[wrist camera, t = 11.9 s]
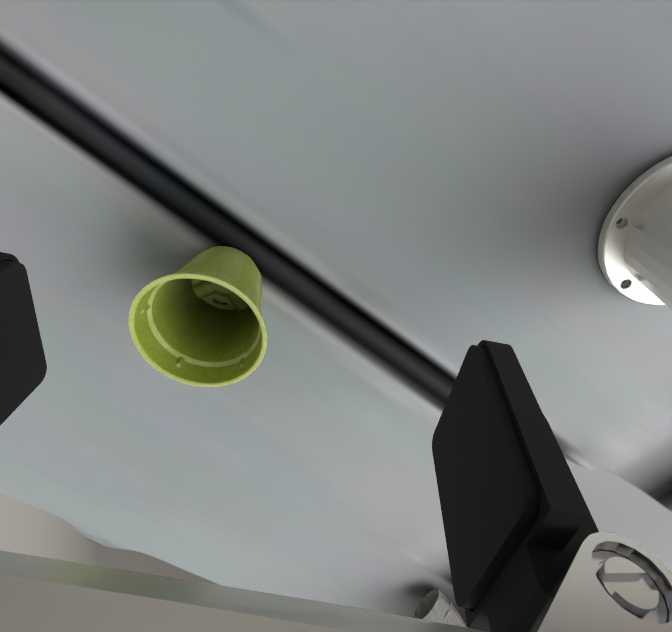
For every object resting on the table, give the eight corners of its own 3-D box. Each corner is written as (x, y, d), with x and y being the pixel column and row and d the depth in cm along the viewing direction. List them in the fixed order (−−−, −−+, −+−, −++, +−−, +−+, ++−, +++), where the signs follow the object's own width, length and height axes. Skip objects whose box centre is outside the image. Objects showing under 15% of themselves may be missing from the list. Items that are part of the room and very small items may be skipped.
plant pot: (178, 209, 35) (133, 256, 28) (294, 244, 37) (280, 298, 29) (165, 307, 40) (123, 368, 33) (268, 335, 41) (251, 400, 34)
